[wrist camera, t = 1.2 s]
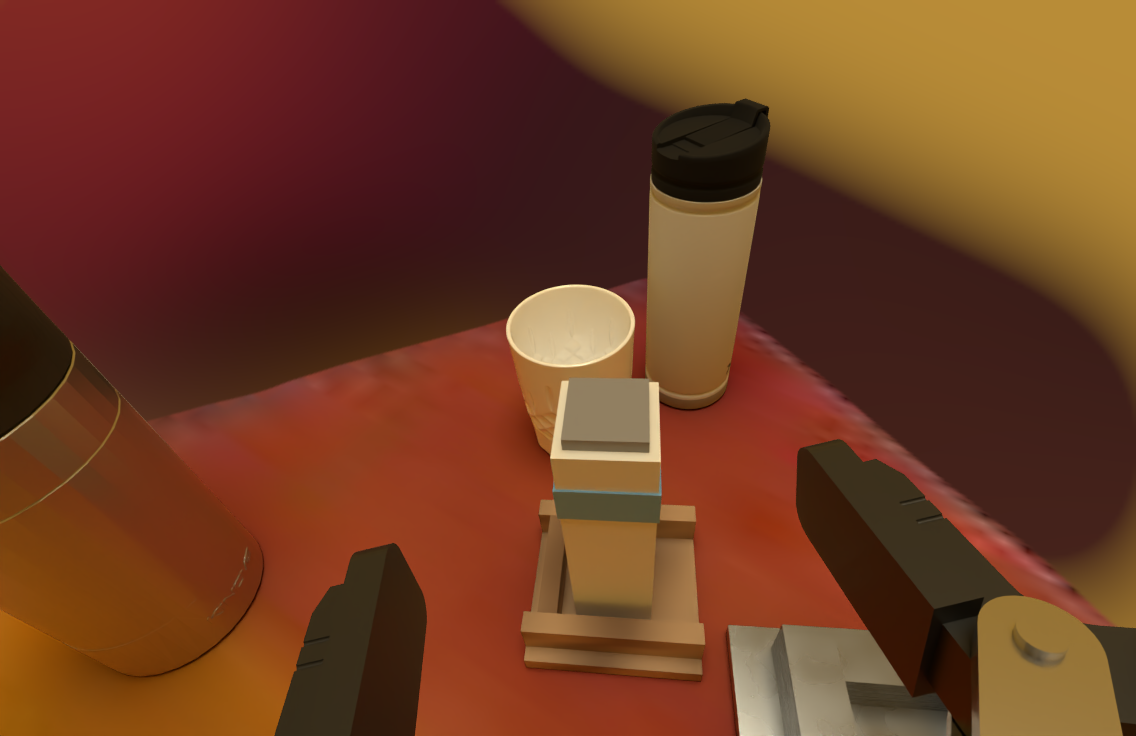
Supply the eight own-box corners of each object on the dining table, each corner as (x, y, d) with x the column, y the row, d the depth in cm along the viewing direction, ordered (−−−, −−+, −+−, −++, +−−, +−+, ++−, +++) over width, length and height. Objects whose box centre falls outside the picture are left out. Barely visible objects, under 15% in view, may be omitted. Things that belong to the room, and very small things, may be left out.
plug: (574, 616, 30) (545, 450, 20) (580, 544, 33) (558, 368, 23) (652, 621, 29) (664, 454, 19) (652, 548, 32) (661, 369, 22)
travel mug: (747, 386, 42) (804, 116, 28) (678, 423, 40) (703, 152, 26) (694, 342, 46) (721, 87, 33) (629, 373, 44) (628, 116, 30)
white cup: (568, 375, 45) (556, 271, 38) (654, 413, 41) (658, 307, 34) (505, 440, 40) (479, 337, 33) (595, 490, 37) (587, 385, 30)
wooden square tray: (526, 667, 29) (518, 646, 27) (547, 516, 36) (542, 489, 34) (700, 681, 28) (706, 660, 26) (690, 522, 34) (694, 495, 32)
